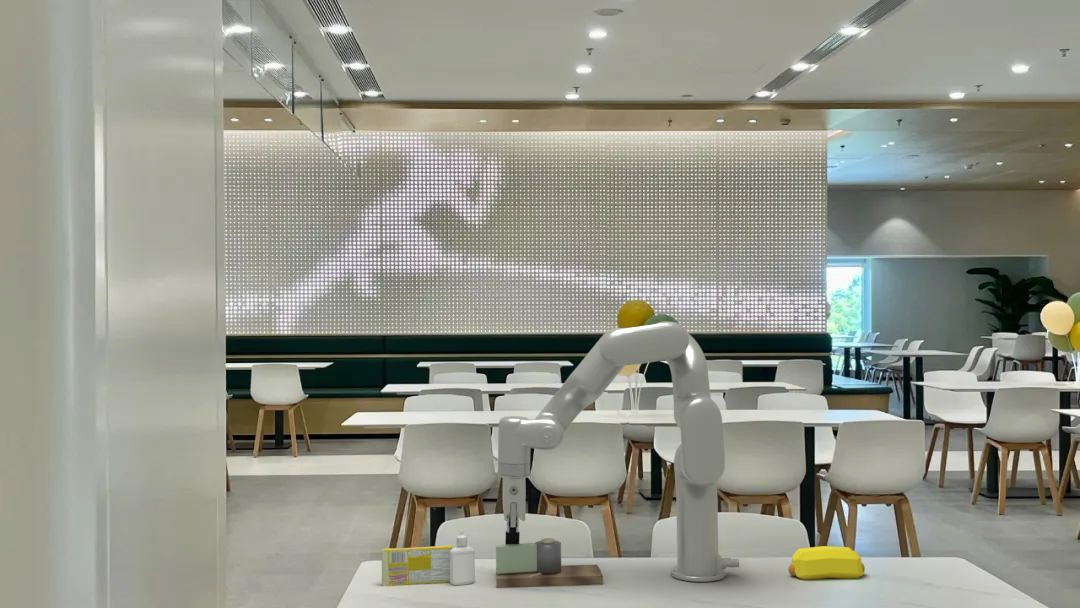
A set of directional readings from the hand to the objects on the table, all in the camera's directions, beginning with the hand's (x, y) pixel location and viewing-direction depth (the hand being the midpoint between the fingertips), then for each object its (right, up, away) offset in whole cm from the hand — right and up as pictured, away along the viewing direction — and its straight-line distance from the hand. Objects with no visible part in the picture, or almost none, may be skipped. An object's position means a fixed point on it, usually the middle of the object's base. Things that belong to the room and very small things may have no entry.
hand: (512, 549), depth 221 cm
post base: (+8, -7, -1) cm, 11 cm away
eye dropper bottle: (-11, -7, -3) cm, 14 cm away
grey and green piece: (+4, -5, -2) cm, 6 cm away
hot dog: (+73, -6, -1) cm, 73 cm away
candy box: (-22, -8, -2) cm, 23 cm away
